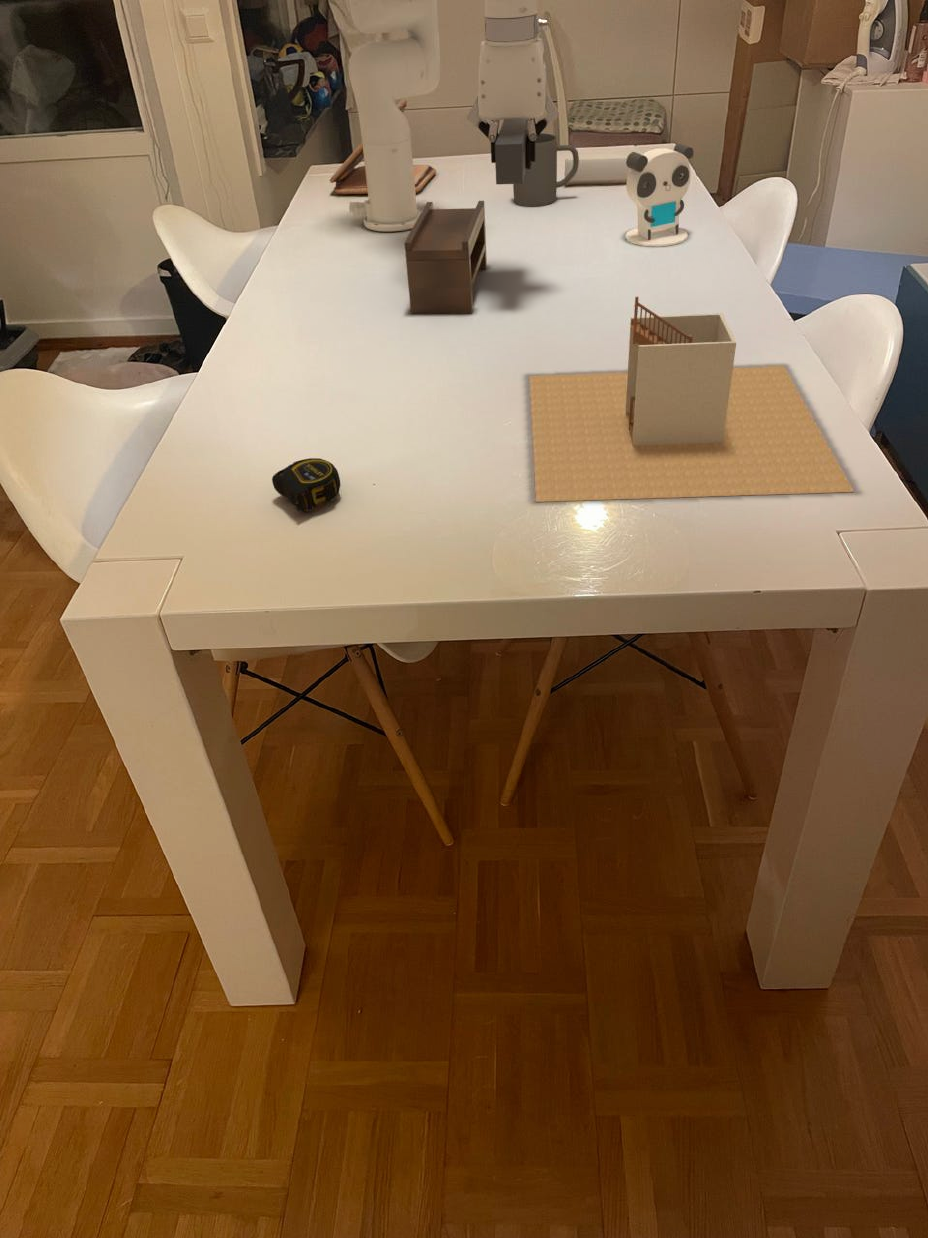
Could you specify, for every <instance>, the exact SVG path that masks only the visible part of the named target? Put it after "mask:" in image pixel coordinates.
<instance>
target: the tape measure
mask: <svg viewBox="0 0 928 1238" xmlns="http://www.w3.org/2000/svg"><path fill="white" fill-rule="evenodd" d="M271 483H272V486H273V489H274V490H275V491H276V492H277V493H278V494H279V495H280V496H281V497H283V498H284V499H286V500H287V501H288V502H290V503H291V505H293V506H294V507H295V508H296V510H297V511H299V512H300V513H302V514H305V513H308V512H311V511H312V510H313V509H314V508H316V507H321V506H326V505H327V504H329V503H330V502H332V501H333V500H334V499H335V498H337V496H338V495H339V493H340V490H341V489H340V488H341V478H340V474H339V471H338V469H337V467H335V465H334V464H333V463H332V462H330V461H328V460H326V459H323V458H318V457H316V458H315V457H311V458H309V457H308V458H304V459H299V460H296V461H294V462H293V463H291V464H289V465H288V466H286V467H284V468H283V469H281V470H278V471H277V472H276V473H275V474H273V475H272V478H271Z"/></svg>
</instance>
